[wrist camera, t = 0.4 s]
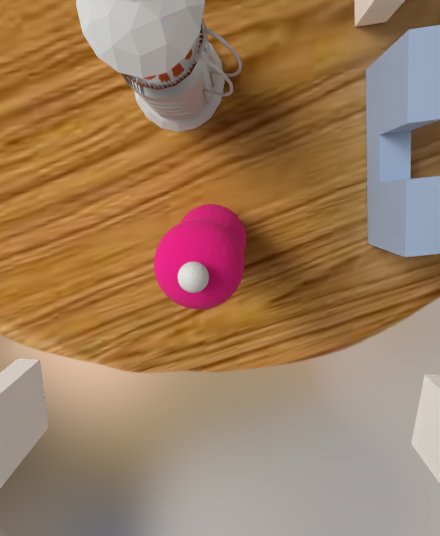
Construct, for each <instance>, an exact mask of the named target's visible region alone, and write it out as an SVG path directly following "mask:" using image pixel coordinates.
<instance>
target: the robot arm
mask: <svg viewBox="0 0 440 536" xmlns="http://www.w3.org/2000/svg"><path fill="white" fill-rule="evenodd" d="M47 428H48V420H47V411H46V404H45V396H44V389H43V381H42V373H41V366H40V360H38V359H18V360H16V361H15V362H13V363H12V364H11V365H10V366H8V367H7V368H6V369H4V370H3V371H2V372H1V373H0V488H1V487H2V485H3V484H4V483H5V482H6V480H7V479H8V478H9V476H10V475H11V474H12V473H13V471H14V470H15V469H16V467H17V466H18V465H19V464H20V463H21V461H22V460H23V459H24V457H25V456H26V455H27V453H28V452H29V451H30V450H31V448H32V447H33V446H34V445H35V443H36V442H37V441H38V440H39V438H40V437H41V436H42V435H43V433H44V432H45V431H46V430H47ZM411 444H412V445H413V447H414V448H415V450H416V451H417V452H418V454H419V455H420V457H421V458H422V460H423V461H424V462H425V464H426V465H427V466H428V468H429V469H430V471H431V472H432V474H433V475H434V476H435V478H436V479H437V480H438V482H439V483H440V375H428V374H425V376H424V381H423V386H422V391H421V396H420V402H419V407H418V412H417V417H416V422H415V427H414V432H413V437H412V443H411Z"/></svg>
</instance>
